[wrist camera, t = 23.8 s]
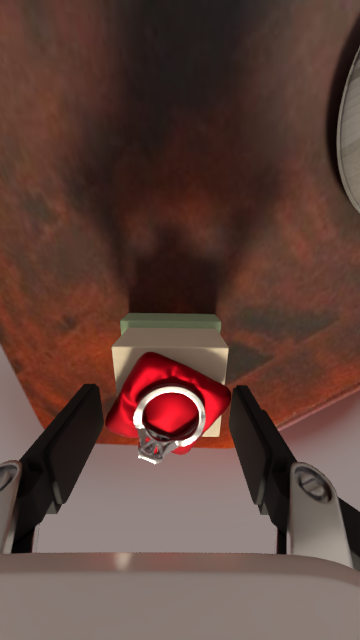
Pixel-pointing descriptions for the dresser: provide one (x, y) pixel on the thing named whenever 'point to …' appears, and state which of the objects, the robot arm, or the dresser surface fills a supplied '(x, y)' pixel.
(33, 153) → the dresser surface
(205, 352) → the cream pad
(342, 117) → the flying saucer
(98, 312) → the dresser surface
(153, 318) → the base pad
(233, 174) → the dresser surface
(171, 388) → the engagement ring
